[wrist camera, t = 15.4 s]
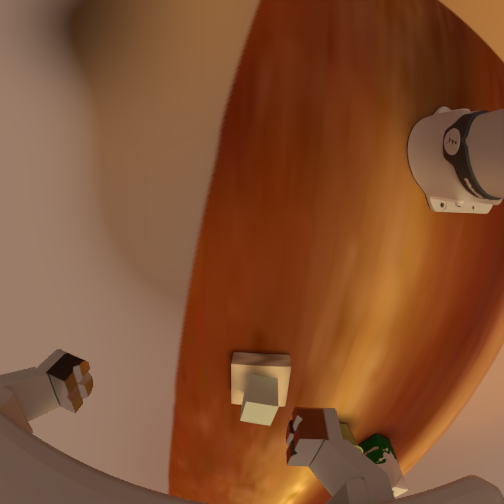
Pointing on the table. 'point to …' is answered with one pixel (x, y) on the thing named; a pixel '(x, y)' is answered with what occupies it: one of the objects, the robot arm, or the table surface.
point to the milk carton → (385, 461)
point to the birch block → (259, 373)
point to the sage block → (260, 400)
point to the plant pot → (349, 435)
